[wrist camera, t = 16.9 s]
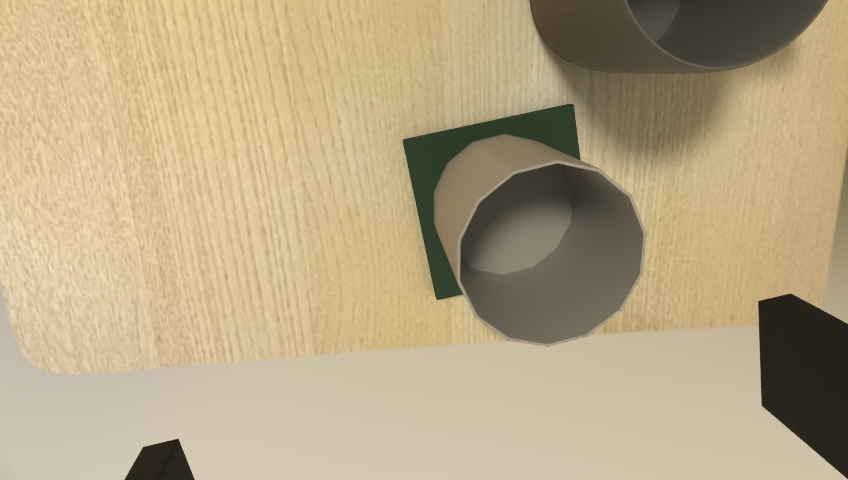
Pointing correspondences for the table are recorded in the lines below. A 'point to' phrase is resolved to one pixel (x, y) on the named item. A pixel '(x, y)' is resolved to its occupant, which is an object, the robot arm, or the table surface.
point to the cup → (537, 239)
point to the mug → (671, 32)
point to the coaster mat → (441, 147)
